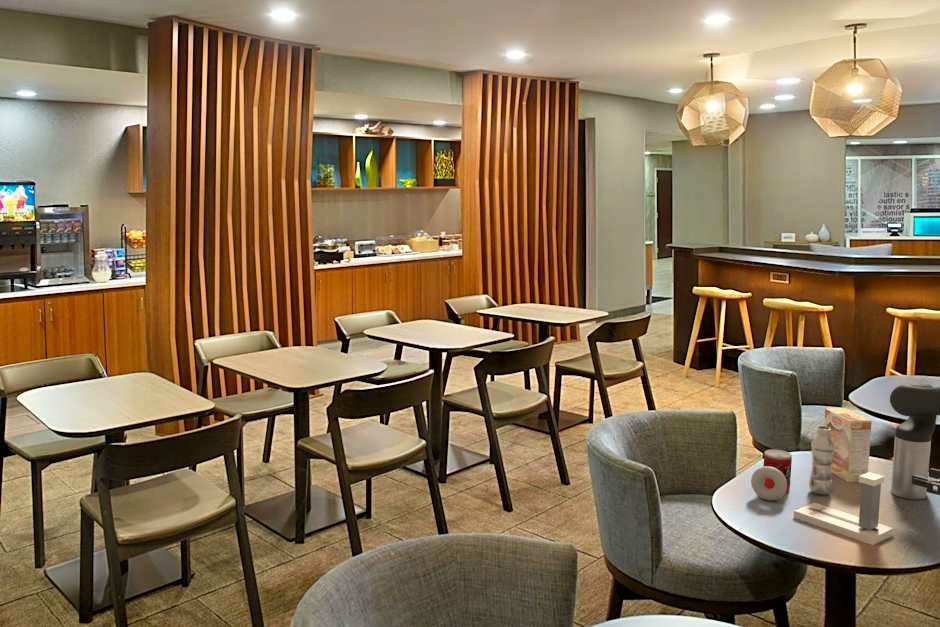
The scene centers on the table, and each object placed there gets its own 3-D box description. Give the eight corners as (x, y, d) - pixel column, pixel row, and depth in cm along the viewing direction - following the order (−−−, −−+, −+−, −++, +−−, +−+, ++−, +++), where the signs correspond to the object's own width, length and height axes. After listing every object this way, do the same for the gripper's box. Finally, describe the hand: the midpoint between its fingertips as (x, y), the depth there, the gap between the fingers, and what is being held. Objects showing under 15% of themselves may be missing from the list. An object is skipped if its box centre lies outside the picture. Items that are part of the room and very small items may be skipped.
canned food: (777, 495, 239) (779, 459, 238) (756, 486, 246) (758, 451, 245) (795, 490, 243) (797, 455, 241) (774, 482, 250) (776, 447, 248)
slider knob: (865, 521, 214) (869, 472, 212) (880, 526, 210) (884, 476, 208) (855, 526, 211) (859, 475, 209) (870, 531, 208) (874, 480, 206)
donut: (787, 501, 234) (789, 468, 233) (784, 505, 231) (786, 471, 230) (751, 494, 240) (753, 462, 238) (748, 498, 237) (750, 465, 235)
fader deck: (814, 509, 228) (814, 502, 228) (892, 535, 211) (893, 527, 210) (793, 517, 222) (794, 510, 222) (872, 545, 205) (873, 537, 205)
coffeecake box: (820, 466, 264) (824, 408, 262) (841, 465, 265) (845, 407, 262) (846, 482, 250) (850, 420, 247) (868, 481, 250) (872, 420, 248)
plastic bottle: (827, 489, 244) (831, 424, 241) (835, 497, 237) (839, 431, 234) (805, 488, 244) (809, 424, 241) (812, 497, 238) (816, 430, 235)
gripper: (1008, 472, 189) (935, 455, 202) (981, 485, 181) (907, 466, 194) (1005, 503, 190) (933, 484, 203) (979, 517, 182) (905, 496, 195)
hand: (920, 475), depth 199 cm, fingers open, 8 cm apart
